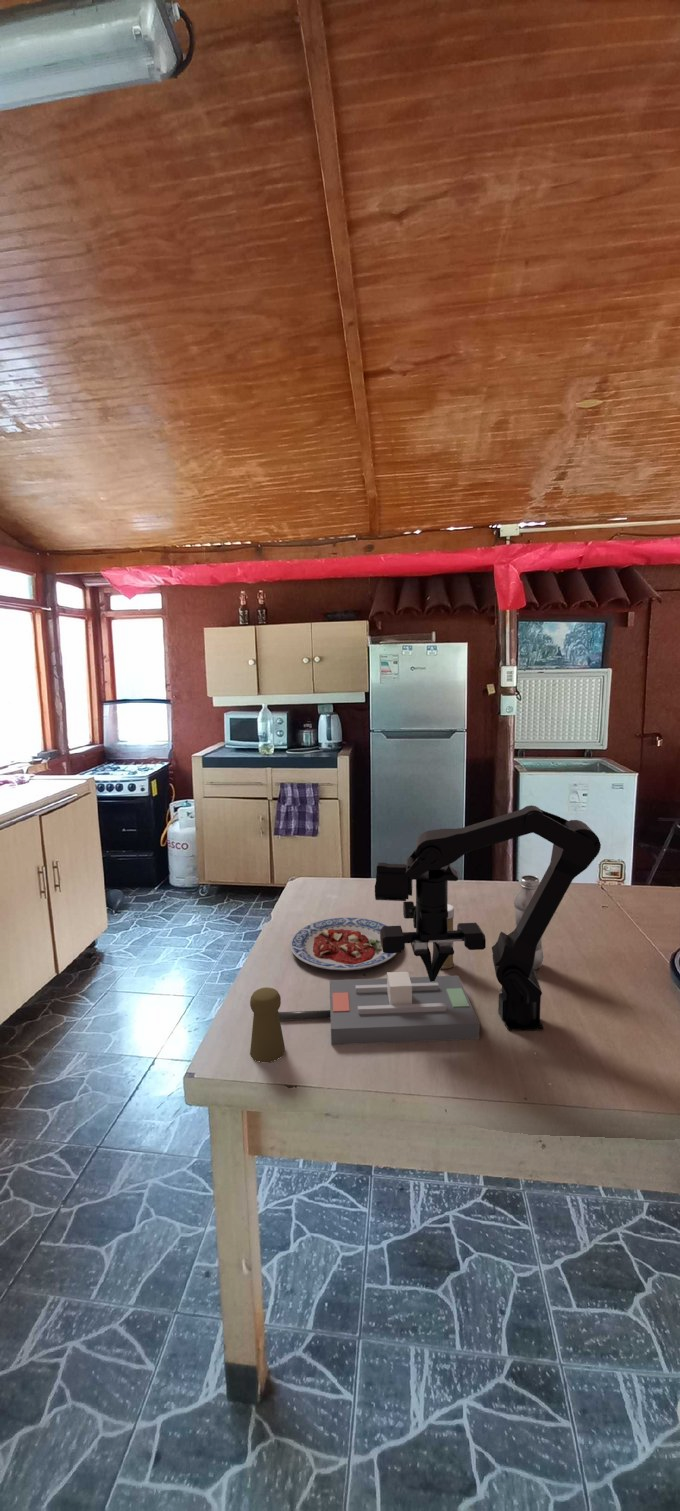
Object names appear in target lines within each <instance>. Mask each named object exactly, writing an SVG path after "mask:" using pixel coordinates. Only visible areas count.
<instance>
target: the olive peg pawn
mask: <svg viewBox="0 0 680 1511" xmlns="http://www.w3.org/2000/svg"><path fill="white" fill-rule="evenodd" d="M281 1004H282V1000H281V995H280V993H279V991H278V990H277V989H275V988H273V987H266V986H265V987H261V988H259V989H256V990H255V991H253V993H252V995H251V996H250V1000H249V1007H250V1009H251V1011H252V1013H253V1016H252V1019H253V1020H252V1028H251V1040H250V1051H249V1055H250V1058H251V1057H252V1058H253V1059H252V1058H251V1059H252V1060H254V1061H255V1060H256V1061H255V1062H257V1061H260V1062H259V1063H262V1062H269V1063H272V1062H271V1061H273V1062H275V1061H274V1060H276V1061H278V1060H279V1059H278V1058H280V1057H281V1056H282V1057H283V1056H284V1055H283V1054H285V1053H286V1046H285V1040H284V1035H283V1031H282V1030H283V1029H282V1025H281V1020H280V1018H279V1012H280V1011H279V1010H280V1008H281ZM284 1052H285V1053H284ZM282 1057H281V1058H282ZM281 1058H280V1059H281ZM277 1059H278V1060H277Z"/></svg>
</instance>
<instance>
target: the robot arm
mask: <svg viewBox="0 0 680 1511" xmlns="http://www.w3.org/2000/svg"><path fill="white" fill-rule="evenodd" d="M529 834H535V835H537V836H539V837H541V838H542V839H544V840H546V841H548V842H549V843H551V844H552V851H551V857H550V862H549V865H548V867H547V869H546V871H545V873H544V875H543V877H542V879H541V880H540V881H539V886H538V888H537V889H536V891H535V893H534V895H533V897H532V899H531V901H530V903H529V904H528V906H527V908H526V910H525V912H524V914H523V916H522V918H521V919H520V921H519V923H518V925H517V927H516V926H515V928H514V930H512V931H511V932H510V933H508V934H506V933H505V932H503V931H500V933H499V936H498V938H497V941H496V942H495V944H494V945H492V946H491V952H492V962H493V966H494V971H495V977H496V980H497V981H498V983H499V984H500V985H501V992H499V993H498V1009H497V1012H498V1015H499V1017H500V1019H501V1020H502V1022H503V1023H504V1025H505V1027H506V1029H507V1030H508V1031H529V1030H531V1031H533V1030H544V1024H543V1022H542V1021H541V1003H542V1002H541V1001H542V994H543V992H542V989H541V985H540V983H539V979H538V977H537V974H536V971H535V970H534V968H533V965H534V959H535V952H536V947H537V944H538V943H539V941H540V939H541V940H542V938H543V936H544V933H545V932H546V929H547V928H548V926H549V924H550V922H551V920H552V918H553V917H554V915H555V913H556V911H557V909H558V907H559V906H560V905H561V903H562V901H563V898H564V896H565V895H566V893H567V891H568V890H569V887H570V886H571V884H572V882H573V880H574V879H575V878H576V877H577V876H578V875H580V874H582V873H583V872H584V871H586V869H588V868H589V866H591V864H592V863H593V861H594V860H595V859H596V858H597V856H598V855H599V854H600V850H601V848H602V847H601V846H602V844H601V841H600V838H599V837H598V835H597V834H596V833H595V832H594V831H593V830H592V828H591V827H590V826H588V825H587V824H586V823H585V822H583V821H582V820H579V819H570V820H567V819H565V818H564V817H561V816H559V815H556V814H553V813H550V812H548V811H545V810H543V809H540V807H538V806H537V805H527V806H525V807H523V808H521V809H519V810H515V811H512V812H509V813H506V814H503V815H499V816H496V817H493V818H490V819H487V820H484V821H481V822H476V823H474V824H470V825H467V826H464V827H458V828H439V829H430V830H426V831H424V832H422V833H420V834H419V837H417V840H416V845H415V849H414V850H413V852H412V853H411V854H410V855H409V856H408V857H407V859H406V863H401V864H400V863H399V864H398V863H388V862H377V864H376V874H375V884H374V898H375V901H388V902H389V901H394V902H402V903H403V907H402V911H403V918H404V919H406V920H407V919H408V920H409V919H413V920H412V922H413V927H414V928H413V929H415V931H408V932H407V931H403V928H402V926H401V925H387V926H383V927H382V928H381V930H380V940H381V945H382V950H383V952H384V953H397V954H401V953H402V952H403V951H404V950H405V948H406V944H410V946H411V949H412V951H413V955H414V956H416V957H420V958H421V961H422V962H423V964H424V967H425V970H426V973H427V977H429V979H430V982H432V981H435V979H436V977H437V976H438V975H439V973H440V971H441V970H442V969H441V967H442V965H443V964H444V962H445V961H446V959H447V958H448V956H449V955H453V956H454V954H455V950H454V946H453V947H452V944H453V945H454V942H463V944H464V947H465V948H466V949H468V950H469V951H475V950H476V951H478V950H481V951H483V950H485V949H487V948H486V942H487V941H486V935H485V933H484V931H483V930H482V928H481V927H480V925H479V924H478V923H477V922H458V923H457V926H456V930H455V929H453V930H452V931H449V930H447V920H448V904H449V901H448V900H449V898H448V897H449V896H448V894H449V893H448V889H449V888H448V886H449V885H448V884H449V883H448V882H457V881H458V880H459V874H458V871H457V870H456V869H454V867H452V865H451V864H453V863H455V862H456V861H457V860H459V859H460V858H462V857H463V856H465V855H466V854H469V853H470V852H471V853H472V852H474V851H476V850H480V849H483V848H486V847H490V846H492V845H496V844H500V843H502V842H506V841H509V840H513V839H516V838H520V837H523V836H525V835H526V836H527V835H529ZM414 880H415V904H414V902H413V901H409V897H410V896H411V897H412V896H413V881H414ZM429 943H432V953H431V951H430V948H429Z"/></svg>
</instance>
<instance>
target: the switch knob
mask: <svg viewBox="0 0 680 1511" xmlns="http://www.w3.org/2000/svg"><path fill="white" fill-rule="evenodd" d="M386 978H387V993H388V998H389V1003H390V1005H402V1004H412V984H411V981H410V974H409V972H408V971H395V972H394V971H393V972H392V971H391V972H386Z"/></svg>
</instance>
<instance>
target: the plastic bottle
mask: <svg viewBox="0 0 680 1511" xmlns="http://www.w3.org/2000/svg"><path fill="white" fill-rule="evenodd" d="M520 878H521V879H520V890H518V892H517V893H516V894H515V897H514V899H513V905H514V906H513V907H514V917H515V928H516V927H517V925H518V923H519V921H520V919H521V918H522V916H523V914H524V912H525V910H526V908H527V906H528V904H529V903H530V901H531V899H532V897H533V895H534V893H535V891H536V889H537V888H538V886H539V884H540V878H539V877H538V876H535V875H531V874H530V875H526V874H525V875H522V876H521V877H520ZM542 942H543V940H542V938H541V939H540V941H539V943H538V944H537V947H536V952H535V959H534V965H533V968H534V970H538V969H539V968H540V967H541V966H542V965H543V962H544V950H543V949H544V948H543V944H542Z"/></svg>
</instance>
